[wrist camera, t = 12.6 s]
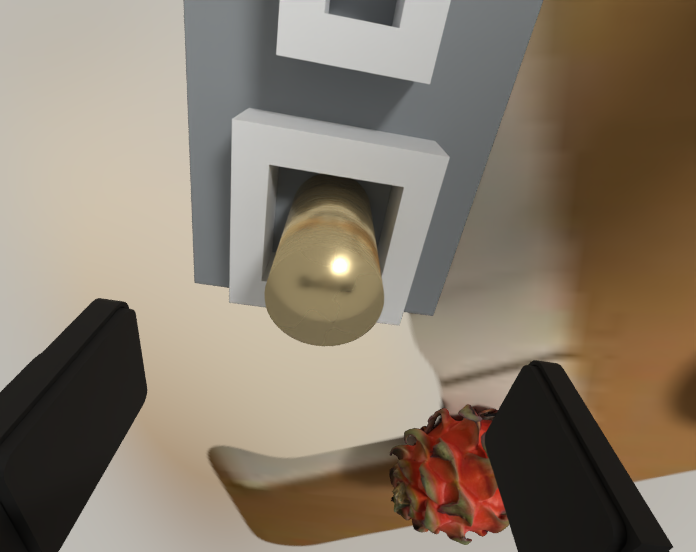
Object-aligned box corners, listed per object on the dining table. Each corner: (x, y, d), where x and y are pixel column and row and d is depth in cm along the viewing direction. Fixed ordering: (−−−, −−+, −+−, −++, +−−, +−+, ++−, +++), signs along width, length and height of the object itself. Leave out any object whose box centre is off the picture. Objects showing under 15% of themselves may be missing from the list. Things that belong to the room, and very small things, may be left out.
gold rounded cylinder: (296, 166, 19) (268, 237, 12) (377, 179, 19) (396, 257, 12) (288, 240, 21) (261, 338, 14) (362, 251, 21) (371, 352, 14)
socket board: (190, -232, 13) (125, -345, 9) (574, -136, 14) (657, -201, 11) (202, 269, 23) (174, 314, 20) (428, 301, 25) (443, 349, 21)
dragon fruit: (371, 432, 34) (495, 363, 32) (424, 526, 32) (557, 459, 30) (351, 474, 25) (516, 383, 24) (421, 604, 24) (604, 517, 22)
